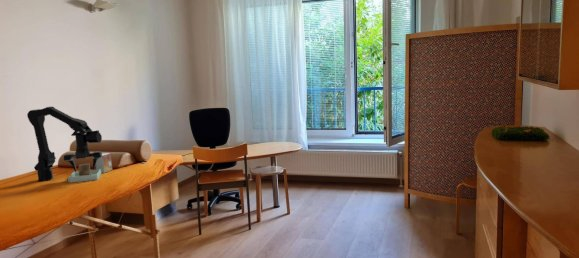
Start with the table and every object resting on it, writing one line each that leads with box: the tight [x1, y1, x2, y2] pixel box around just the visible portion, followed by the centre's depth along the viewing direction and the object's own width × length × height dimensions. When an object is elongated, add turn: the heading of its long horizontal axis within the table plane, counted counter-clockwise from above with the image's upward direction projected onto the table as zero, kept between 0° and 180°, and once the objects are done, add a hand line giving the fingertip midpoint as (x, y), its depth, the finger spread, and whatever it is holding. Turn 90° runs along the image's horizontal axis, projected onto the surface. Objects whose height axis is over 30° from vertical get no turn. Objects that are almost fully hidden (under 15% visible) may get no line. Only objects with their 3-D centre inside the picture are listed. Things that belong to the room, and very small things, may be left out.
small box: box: [95, 152, 113, 174], centre depth 255 cm, size 8×6×10 cm
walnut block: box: [77, 163, 91, 176], centre depth 239 cm, size 5×5×7 cm
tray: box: [67, 169, 102, 184], centre depth 239 cm, size 14×14×3 cm
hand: (84, 170), depth 239 cm, fingers open, 9 cm apart
